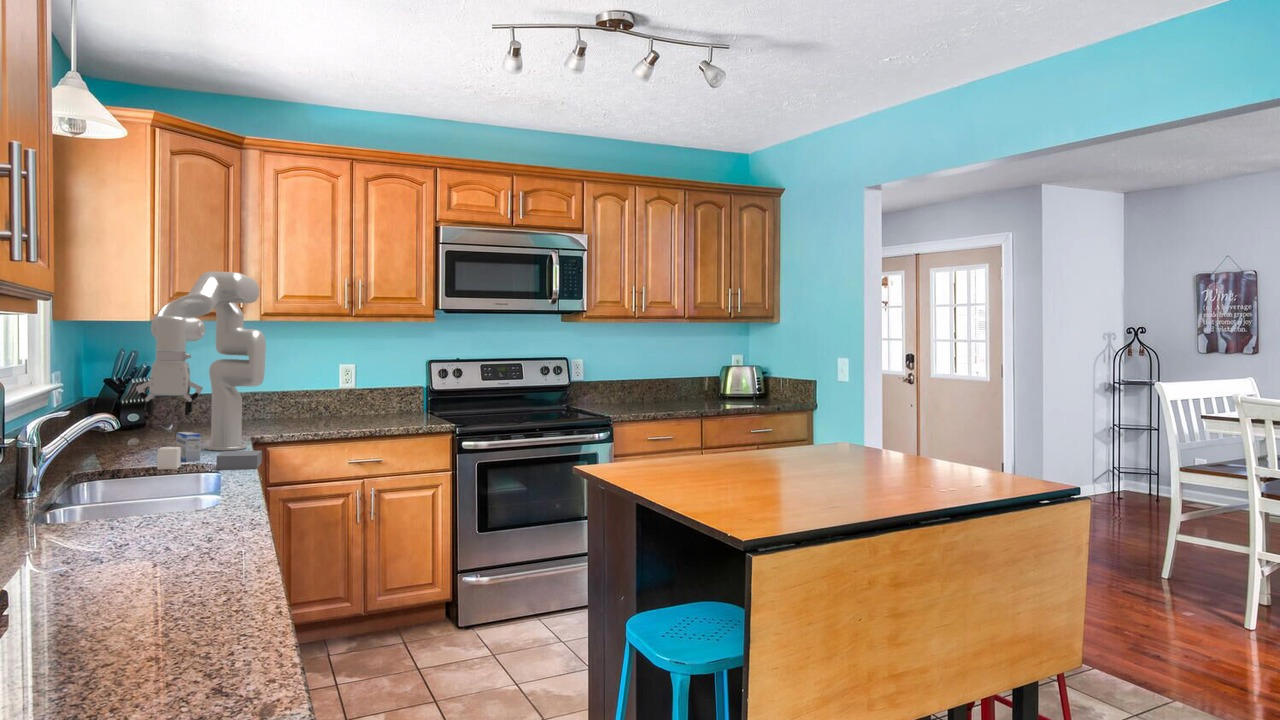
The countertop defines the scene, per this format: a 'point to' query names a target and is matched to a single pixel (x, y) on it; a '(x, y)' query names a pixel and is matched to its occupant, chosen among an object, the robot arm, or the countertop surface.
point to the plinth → (239, 460)
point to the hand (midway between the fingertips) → (169, 414)
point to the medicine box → (189, 446)
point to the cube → (169, 458)
